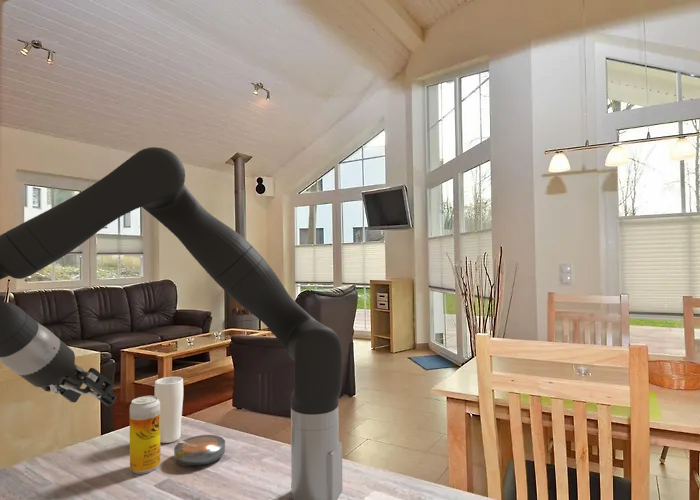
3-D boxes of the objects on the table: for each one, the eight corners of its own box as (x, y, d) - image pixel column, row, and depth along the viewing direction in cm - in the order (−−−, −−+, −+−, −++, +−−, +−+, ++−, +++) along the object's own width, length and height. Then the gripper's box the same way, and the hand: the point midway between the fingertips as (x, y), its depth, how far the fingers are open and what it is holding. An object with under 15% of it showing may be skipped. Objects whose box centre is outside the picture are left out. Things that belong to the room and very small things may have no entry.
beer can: (148, 476, 91) (148, 405, 91) (123, 473, 93) (123, 403, 93) (166, 462, 97) (165, 395, 97) (142, 460, 98) (142, 394, 99)
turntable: (234, 446, 103) (234, 437, 103) (206, 468, 92) (206, 458, 92) (194, 440, 106) (194, 432, 106) (163, 461, 96) (163, 452, 96)
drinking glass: (189, 437, 110) (189, 378, 110) (165, 447, 105) (165, 385, 105) (172, 431, 114) (172, 374, 114) (149, 441, 108) (148, 381, 108)
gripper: (83, 336, 72) (135, 384, 83) (19, 332, 76) (77, 379, 87) (54, 377, 67) (114, 422, 78) (-13, 371, 71) (53, 415, 82)
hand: (94, 399), depth 83 cm, fingers open, 8 cm apart
